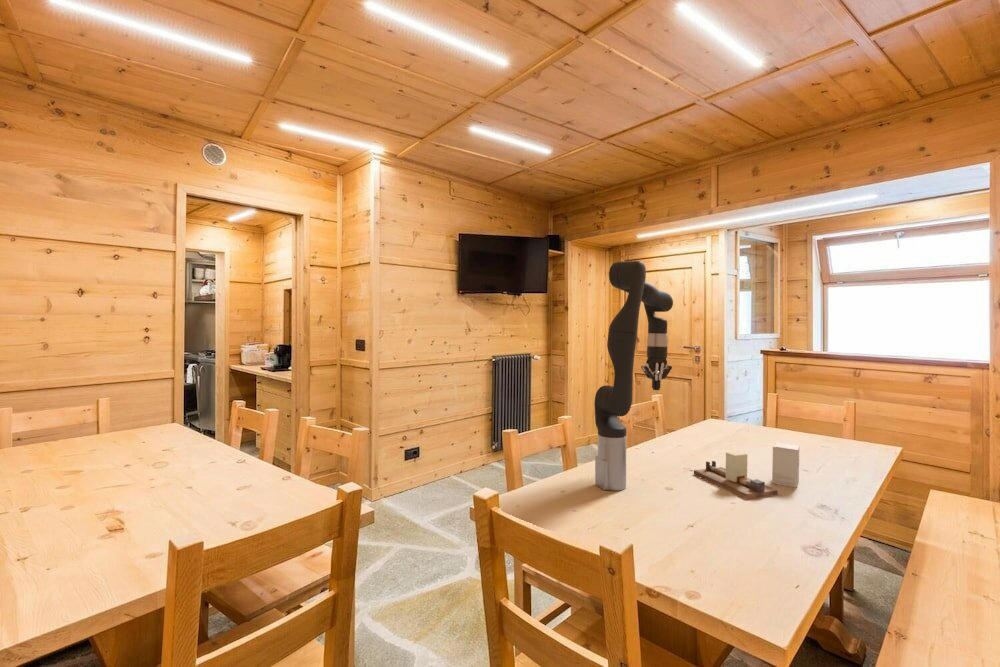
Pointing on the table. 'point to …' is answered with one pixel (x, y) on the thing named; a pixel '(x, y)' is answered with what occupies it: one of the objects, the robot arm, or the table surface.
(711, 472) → the rail
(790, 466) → the supplement box
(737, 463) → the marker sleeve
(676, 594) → the table surface
